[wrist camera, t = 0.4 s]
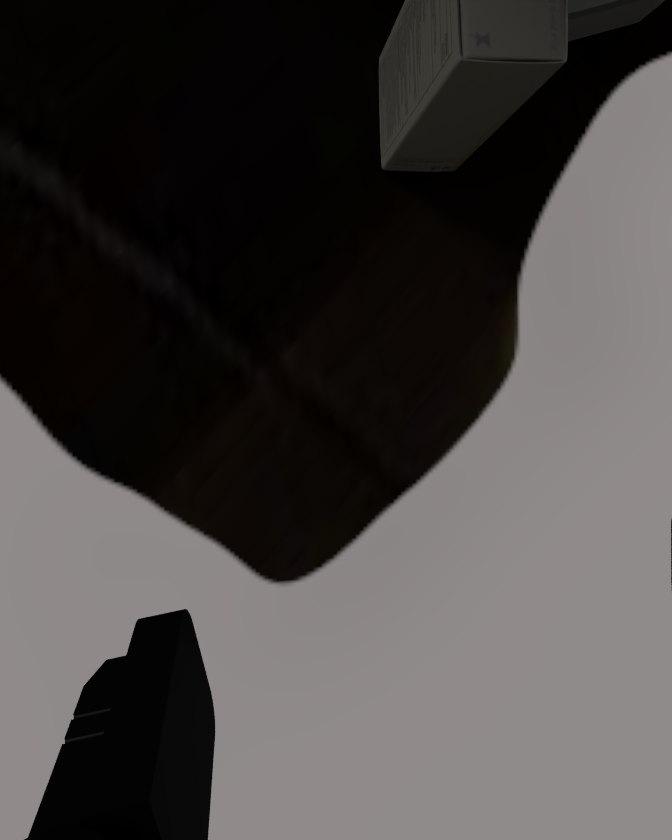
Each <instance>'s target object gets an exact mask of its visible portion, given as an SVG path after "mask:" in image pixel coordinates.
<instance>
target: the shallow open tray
mask: <svg viewBox="0 0 672 840" xmlns="http://www.w3.org/2000/svg"><path fill="white" fill-rule="evenodd" d="M664 1H665V0H568V41H572V40H576V39H579V38H583V37H587V36H590V35H594V34H598V33H601V32H605V31H609V30H612V29H616V28H620V27H623V26H627V25H631V24H634V23H638V22H640V21H641V20H642V19H643V18H645V17H646V16H647V15H648V14H649V13H651V12H652V11H653V10H654V9H655V8H656V7H658V6H659V5H660V4H661V3H662V2H664Z"/></svg>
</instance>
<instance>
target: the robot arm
mask: <svg viewBox="0 0 672 840" xmlns="http://www.w3.org/2000/svg"><path fill="white" fill-rule="evenodd" d="M671 558H672V520H671ZM671 560H672V559H671ZM671 567H672V561H671ZM671 569H672V568H671ZM671 574H672V572H671ZM671 580H672V577H671ZM671 583H672V581H671ZM73 715H74V720H71V722H70V725H69V728H68V730H67V733H66V736H65V744H62V746H61V749H60V752H59V755H58V758H57V760H56V763H55V766H54V768H53V771H52V774H51V777H50V779H49V782H48V785H47V787H46V790H45V793H44V795H43V798H42V801H41V804H40V806H39V809H38V812H37V815H36V817H35V820H34V823H33V825H32V828H31V831H30V834H29V836H28V838H26V839H25V840H208V827H209V814H210V800H211V785H212V771H213V770H212V769H213V757H214V756H213V755H214V742H215V716H214V707H213V700H212V695H211V690H210V686H209V682H208V679H207V675H206V671H205V667H204V664H203V660H202V656H201V652H200V648H199V645H198V641H197V637H196V633H195V629H194V626H193V622H192V619H191V616H190V614H189V612H188V610H186V609H184V610H179V611H174V612H170V613H165V614H160V615H156V616H151V617H146V618H141V619H138V621H137V622H136V625H135V628H134V631H133V635H132V638H131V642H130V645H129V648H128V652H127V655H126V656H122V657H117V658H114V659H108V660H106V661H105V662H104V663H103V664H102V666H101V667H100V668H99V669H98V670H97V671H96V673H95V674H94V675H93V676H92V677H91V678H90V679H89V681H88V682H87V683H86V684H85V685H84V687H83V689H82V692H81V695H80V698H79V700H78V703H77V706H76V708H75V711H74V714H73Z"/></svg>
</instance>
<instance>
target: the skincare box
mask: <svg viewBox="0 0 672 840" xmlns="http://www.w3.org/2000/svg"><path fill="white" fill-rule="evenodd" d="M567 53H568V0H405V2H404V4H403V6H402V9H401V11H400V13H399V15H398V17H397V20H396V22H395V24H394V27H393V29H392V31H391V33H390V36H389V38H388V40H387V42H386V45H385V47H384V49H383V51H382V53H381V55H380V58H379V111H380V144H381V164H382V169H383V170H394V171H426V172H441V171H455V170H456V169H457V168H458V167H459V166H460V165H461V164H462V163H463V162H464V161H465V160H466V159H467V158H468V157H469V156H470V155H471V154H473V152H474V151H475V150H477V149H478V148H479V147H480V146H481V145H482V144H483V143H484V142H485V141H486V140H487V139H488V138H489V137H490V136H491V135H492V134H493V133H494V132H495V131H496V130H497V129H498V128H499V127H500V126H501V125H502V124H503V123H504V122H505V121H506V120H507V119H508V118H509V117H510V116H511V115H512V114H513V113H514V112H516V111H517V110H518V109H519V108H520V107H521V106H522V105H523V104H524V103H525V102H526V101H527V100H528V99H529V98H530V97H531V96H532V95H533V94H534V93H535V92H536V91H537V90H538V89H539V88H540V87H541V86H542V85H543V84H544V83H545V82H546V81H547V80H548V79H549V78H550V77H551V76H552V75H553V74H554V73H555V72H556V71H557V70H558V69H560V68H561V67H562V66H563V65H564V64H565V63H566V61H567Z"/></svg>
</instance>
